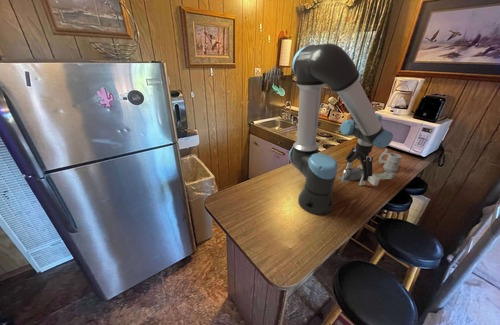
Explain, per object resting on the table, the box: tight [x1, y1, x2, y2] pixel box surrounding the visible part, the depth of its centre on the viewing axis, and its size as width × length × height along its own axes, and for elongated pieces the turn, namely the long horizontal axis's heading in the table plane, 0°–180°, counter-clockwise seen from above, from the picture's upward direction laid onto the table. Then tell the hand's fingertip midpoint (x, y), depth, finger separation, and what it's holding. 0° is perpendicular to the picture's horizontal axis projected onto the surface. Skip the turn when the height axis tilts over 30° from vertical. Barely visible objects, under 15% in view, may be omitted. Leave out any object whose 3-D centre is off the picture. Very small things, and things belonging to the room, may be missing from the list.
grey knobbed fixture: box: [337, 168, 350, 183], centre depth 110 cm, size 4×5×6 cm
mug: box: [378, 147, 403, 173], centre depth 121 cm, size 8×12×12 cm, turn 31°
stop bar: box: [346, 167, 364, 182], centre depth 111 cm, size 9×4×7 cm, turn 98°
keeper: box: [372, 169, 397, 181], centre depth 114 cm, size 14×6×3 cm, turn 98°
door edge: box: [356, 164, 381, 187], centre depth 112 cm, size 2×16×4 cm, turn 8°
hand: (354, 178), depth 112 cm, fingers open, 13 cm apart
